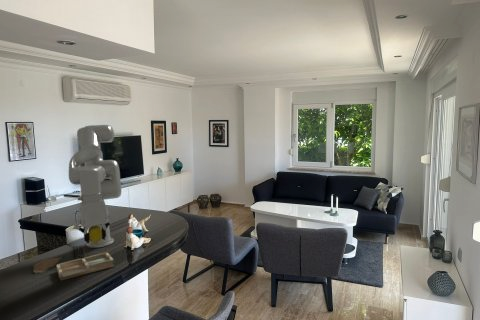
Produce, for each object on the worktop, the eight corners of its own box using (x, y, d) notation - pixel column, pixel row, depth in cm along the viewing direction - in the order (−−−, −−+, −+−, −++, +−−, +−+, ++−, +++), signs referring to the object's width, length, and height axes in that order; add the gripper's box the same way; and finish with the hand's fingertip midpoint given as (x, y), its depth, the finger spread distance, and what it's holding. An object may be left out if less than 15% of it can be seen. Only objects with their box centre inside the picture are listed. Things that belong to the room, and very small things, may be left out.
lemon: (90, 247, 137) (88, 227, 136) (87, 243, 142) (85, 225, 141) (104, 243, 140) (102, 225, 140) (101, 240, 145) (99, 222, 144)
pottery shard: (49, 276, 138) (63, 258, 153) (48, 270, 138) (62, 253, 152) (27, 278, 137) (44, 260, 152) (26, 272, 137) (43, 255, 151)
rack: (57, 271, 138) (56, 264, 138) (107, 258, 150) (107, 252, 149) (60, 280, 130) (59, 273, 130) (114, 266, 141) (113, 259, 141)
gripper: (70, 203, 131) (74, 248, 133) (115, 196, 141) (119, 238, 143) (67, 200, 137) (71, 243, 139) (111, 193, 147) (114, 234, 149)
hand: (95, 240), depth 141 cm, fingers closed on lemon, 5 cm apart
